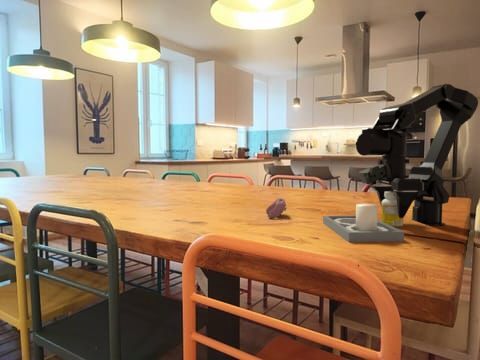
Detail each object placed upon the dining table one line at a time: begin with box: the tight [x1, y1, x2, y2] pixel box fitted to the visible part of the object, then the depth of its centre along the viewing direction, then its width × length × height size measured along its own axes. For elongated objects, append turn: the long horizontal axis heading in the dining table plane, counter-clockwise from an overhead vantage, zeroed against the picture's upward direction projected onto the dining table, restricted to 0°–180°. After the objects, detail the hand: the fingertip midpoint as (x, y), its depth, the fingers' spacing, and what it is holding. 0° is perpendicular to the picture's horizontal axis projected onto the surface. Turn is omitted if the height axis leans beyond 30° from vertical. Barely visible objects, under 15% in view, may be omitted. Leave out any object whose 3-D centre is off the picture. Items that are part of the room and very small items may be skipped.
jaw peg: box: [355, 203, 379, 231], centre depth 79 cm, size 5×5×7 cm
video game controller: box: [265, 197, 287, 219], centre depth 110 cm, size 10×5×7 cm, turn 179°
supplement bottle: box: [380, 191, 404, 228], centre depth 90 cm, size 5×5×10 cm
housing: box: [322, 214, 405, 243], centre depth 83 cm, size 12×20×3 cm, turn 2°
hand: (392, 214), depth 90 cm, fingers open, 9 cm apart
